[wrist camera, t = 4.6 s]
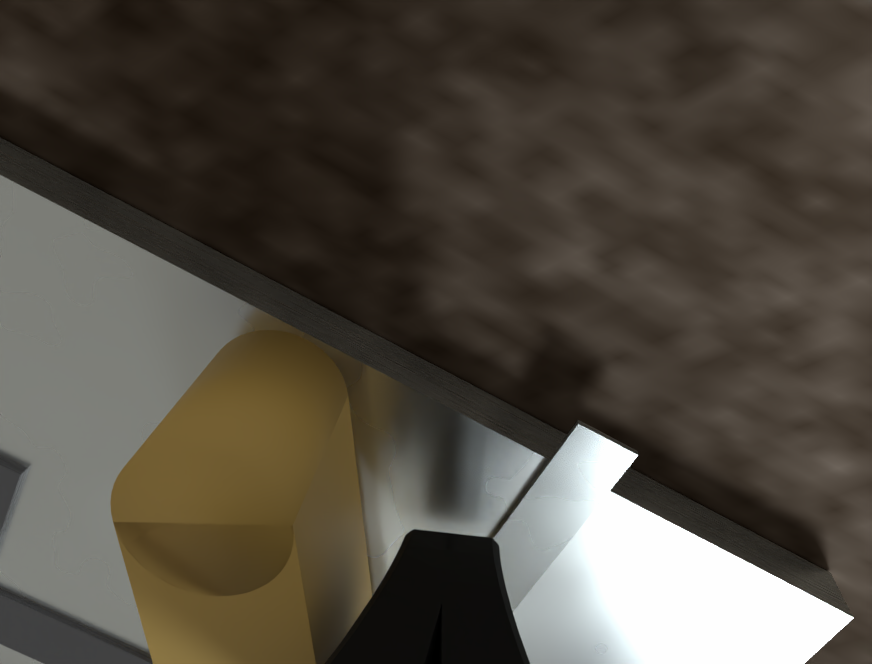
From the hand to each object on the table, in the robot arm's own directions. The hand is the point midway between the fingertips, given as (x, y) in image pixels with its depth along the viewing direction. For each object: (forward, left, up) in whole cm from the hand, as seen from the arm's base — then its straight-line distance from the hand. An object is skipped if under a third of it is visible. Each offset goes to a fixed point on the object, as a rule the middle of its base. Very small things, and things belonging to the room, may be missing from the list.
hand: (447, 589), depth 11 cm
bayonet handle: (-3, +1, -1) cm, 3 cm away
